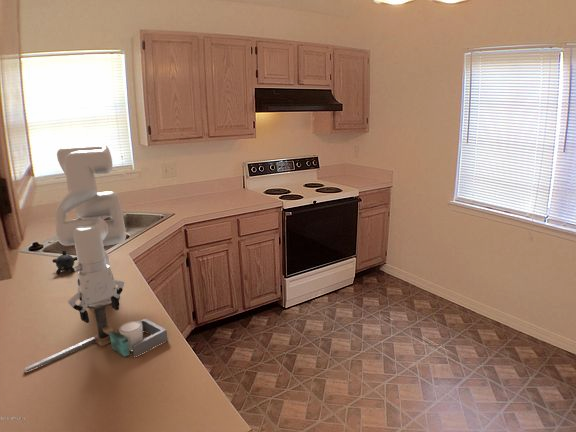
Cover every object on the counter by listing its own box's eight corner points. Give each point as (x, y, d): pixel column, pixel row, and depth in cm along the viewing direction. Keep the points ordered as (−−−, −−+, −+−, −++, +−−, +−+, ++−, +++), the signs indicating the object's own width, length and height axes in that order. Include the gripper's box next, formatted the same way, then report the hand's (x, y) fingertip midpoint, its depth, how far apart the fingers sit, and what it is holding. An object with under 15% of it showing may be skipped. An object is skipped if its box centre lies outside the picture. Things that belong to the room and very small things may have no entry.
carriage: (94, 341, 127) (88, 307, 124) (108, 335, 130) (102, 302, 127) (120, 359, 117) (114, 323, 114) (134, 352, 121) (128, 317, 118)
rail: (24, 371, 114) (23, 368, 113) (105, 334, 132) (105, 331, 131) (26, 373, 113) (25, 370, 113) (107, 336, 131) (107, 332, 130)
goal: (114, 344, 126) (112, 332, 125) (146, 328, 134) (144, 318, 133) (135, 358, 119) (134, 346, 117) (167, 341, 127) (166, 329, 126)
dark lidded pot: (43, 272, 179) (50, 256, 189) (66, 283, 184) (71, 267, 194) (57, 256, 176) (64, 242, 187) (79, 268, 182) (85, 253, 192)
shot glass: (120, 354, 120) (117, 334, 119) (122, 342, 127) (119, 323, 125) (144, 350, 122) (141, 329, 121) (145, 338, 129) (142, 319, 127)
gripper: (68, 278, 112) (78, 331, 117) (125, 259, 125) (132, 307, 130) (57, 271, 117) (67, 323, 122) (113, 253, 130) (120, 301, 134)
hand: (101, 315), depth 126 cm, fingers open, 9 cm apart
